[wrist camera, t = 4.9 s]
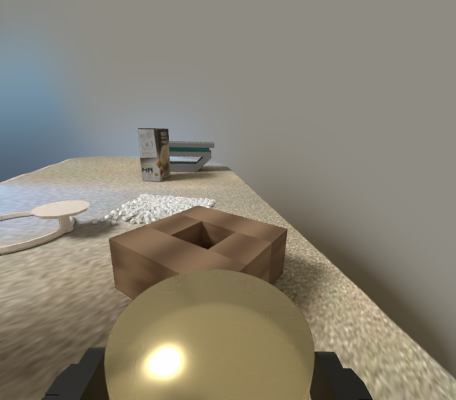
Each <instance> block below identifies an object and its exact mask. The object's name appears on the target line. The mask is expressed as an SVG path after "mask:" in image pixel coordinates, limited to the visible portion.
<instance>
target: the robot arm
mask: <svg viewBox="0 0 456 400" xmlns="http://www.w3.org/2000/svg"><path fill="white" fill-rule="evenodd" d="M105 349H106V348H89V349H88V350H87V351H86V353H85V354H84V356H83V357H82V359H81V361H80V362H79V364H71V365H70V366H68V367H67V368H66V369H65V370H64V371H63V372H62V373H61V374H60V375H59V376H58V377H57V378H56V379H55V380H54V382H53V383H52V385H51V386H50V388H49V389H48V391H47V392H46V394H45V397H44V398H42V400H109V395H108V389H107V383H106V377H105V366H104V359H105ZM314 354H315V358H314V369H313V375H312V380H311V386H310V395H311V399H312V400H373V399H372V397H371V395H370V393H369V391H368V390H367V388H366V386H365V384H364V382H363V381H362V380H361V379H360V378H359V377H358V376H357V375H356V373H355V372H354V371H353V370H352V369H351V368H343V367H342V365H341V363H340V361H339V359H338V357H337V355H336V354H335V353H334V352H314Z"/></svg>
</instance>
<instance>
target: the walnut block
mask: <svg viewBox="0 0 456 400" xmlns="http://www.w3.org/2000/svg"><path fill="white" fill-rule="evenodd" d="M286 238H287V229H286V228H282V227H278V226H274V225H271V224H267V223H263V222H259V221H256V220H252V219H248V218H244V217H241V216H237V215H233V214H229V213H225V212H222V211H218V210H214V209H210V208H207V207H203V206H199V205H198V206H195V207H192V208H190V209H187V210H184V211H182V212H179V213H176V214H174V215H171V216H168V217H166V218H163V219H160V220H158V221H155V222H152V223H150V224H147V225H144V226H142V227H139V228H136V229H134V230H131V231H128V232H126V233H123V234H120V235H118V236H115V237H112V238H110V239H109V243H110V251H111V258H112V266H113V273H114V281H115V288H117V289H118V290H120V291H121V292H123V293H124V294H126V295H127V296H129V297H130V298H132V299H133V300H134V299H135V298H136V297H138V296H139V295H140V294H141V293H143V292H144V291H145V290H147V289H148V288H150V287H152V286H153V285H155V284H157V283H159V282H161V281H163V280H165V279H167V278H170V277H173V276H176V275H179V274H183V273H187V272H192V271H198V270H211V269H216V270H230V271H236V272H241V273H245V274H248V275H251V276H254V277H257V278H259V279H261V280H264V281H266V282H268V283H269V284H271V285H273V284H274V283H275V281H276V280H277V279H278V278H279V276H280V275H281V274H282V273H283V265H284V256H285V247H286Z"/></svg>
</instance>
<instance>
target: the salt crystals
mask: <svg viewBox="0 0 456 400" xmlns="http://www.w3.org/2000/svg"><path fill="white" fill-rule="evenodd" d="M165 200H166V201H165ZM214 202H216V201H215V200H212V201H211V200H210V199H208V198H205V199H203V198H200V199H199V198H197V199H195V198H186V197H184V198H183V197H181V196H180V197H176V198H175V197H173V196H169V197H168V196H164V197H163V196H159V195H155V196H153V195H150V194H149V195H148V194H146V193H145V194H141V195H140V196H139V197H138V198H137V199H134V200H133V201H132V202H130V201H128V202H127V203H125V205H124V204H123V205H122V208H123V210H122V208H121V206H120V207H118V208H117V210H112V211H111V213H110V212H109V214H108V215H106V216H105V218H106V219H110V217H111V216H112V215H114V217H113V219H114V220H112V222H111V224H112V225H115V223H116V221H115V220H117V218H118V215H120V216H123V217H122V219H123V220H125V221H127V220H128V219H131V216H135V215H137V213H138V212H137V211H140V212H139V216H138V217H137V218H136V220H137V223H138V224H140V223H141V222H142V220H141V219H142V216H144V218H145V221H146V223H147V224H150V223H151V222H155V221H157V220H156V219H155V218H158V219H159V218H160V219H163V218H166V217H168V216H171V215H174V214H176V213H179V212H182V211H184V210H187V209H190V208H192V207H195V206H198V205H199V206H203V207H207V208H210V209H211V207H212V206H213V205H212V204H214ZM129 205H131V206H129ZM135 205H136V206H135ZM129 207H130V208H129ZM146 208H147V209H146ZM155 208H156V210H155ZM132 209H135V210H132ZM150 210H151V212H149V211H150ZM117 211H119V214H118V213H117ZM124 211H126V213H125V212H124ZM158 212H162V213H163V215H162V213H158ZM166 212H167V213H166ZM145 213H146V214H145ZM124 214H126V216H124ZM167 214H169V215H167ZM154 216H155V217H154ZM149 217H150V218H151V219H152V221H151V220H150V218H149ZM100 220H101V222H103V221H105V219H104V217H102V218H100ZM135 222H136V221H135V219H132V220H131V221H130V223H131V224H134V223H135ZM95 223H97V219H95V220H92V224H95ZM141 227H142V226H141Z"/></svg>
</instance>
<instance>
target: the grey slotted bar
mask: <svg viewBox="0 0 456 400" xmlns="http://www.w3.org/2000/svg"><path fill="white" fill-rule="evenodd" d="M209 148H214V142H182V141H169V156H192V157H194V156H195V157H201V158H200V159H199V160H198V161H197V162H183V161H170V172H197V171H198V170H199V169H200V168H201V167H202V166H203V165H204V164H206V163H207V162H208V161H209V160H210V159H211V150H209Z"/></svg>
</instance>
